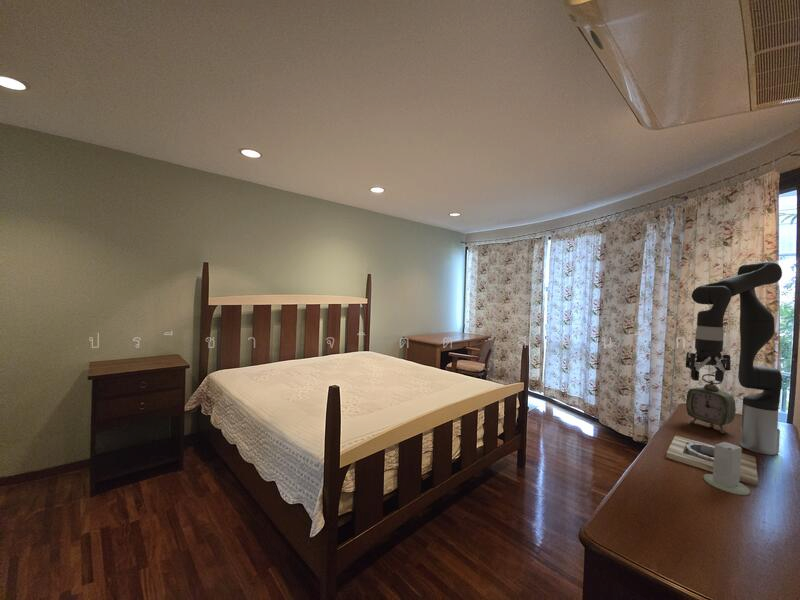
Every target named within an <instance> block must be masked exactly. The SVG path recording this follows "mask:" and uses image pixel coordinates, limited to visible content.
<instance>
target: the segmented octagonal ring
mask: <svg viewBox="0 0 800 600" xmlns="http://www.w3.org/2000/svg"><path fill="white" fill-rule="evenodd" d="M712 446H713V445H712ZM712 446H708V445H703V444H695V443H690V444H687V445H686V450H685V454H688V455H691V456H694V457H698V458H701V459H704V460H708V461H711V462H714V452H715V447H712ZM705 454H706V455H705ZM708 455H711V456H713V457H710V456H708Z"/></svg>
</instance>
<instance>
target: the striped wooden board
mask: <svg viewBox="0 0 800 600" xmlns="http://www.w3.org/2000/svg"><path fill="white" fill-rule="evenodd" d="M690 443H695V444H703V445H708V446H712V447H715V445H711V444H708V443H705V442H701V441H697V440H694V439H690V438H686V437H683V436H679V435H674V437H673V439H672V441H671V442H670V445H669V447H668V449H667V451H666V458H667V459H670V460H673V461H676V462H679V463H683V464H685V465H688V466H689V465H690V466H692V467H696V468H699V469H702V470H705V471H707V472H708V471H709V472H711V473H713V464H714V462H711V461H708V460H704V459H701V458H698V457H694V456H691V455H688V454H686V445H687V444H690ZM758 478H759V477H758V468H757V459H756V456H753V455H749V454H746V453H743V452H741V465H740V480H739V482H743V483H747V484H749V485H752V486H756V487H758V485H759V484H758V481H759V480H758Z"/></svg>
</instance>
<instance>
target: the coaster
mask: <svg viewBox="0 0 800 600" xmlns="http://www.w3.org/2000/svg"><path fill="white" fill-rule="evenodd" d="M712 478H713V473H705V474H703V479H704V481H705V482H706V483H707V484H708V485H710V486H711V487H714V488H716V489H719V490H721V491H723V492H727V493H728V494H729V493H730V494H733V495H738V496H747V495H749V494H750V492H751V491H750V488H749V487H748V486H747V485H744V484H743V483H741V482H739V484H738V485H735V486H733V487H730V488H728V487H725V486H723V485H721V484H718V483H716V482H714V481H713V480H712Z"/></svg>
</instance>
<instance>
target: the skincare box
mask: <svg viewBox="0 0 800 600" xmlns="http://www.w3.org/2000/svg"><path fill="white" fill-rule="evenodd" d="M714 446H715V452H714V456H713V458H714V464H713V472H712V474H713V478H712V480H713V481H714V482H716V483H718V484H721V485H723V486H725V487H728V488H730V487H733V486H735V485H738V484H739V483H740V481H739V480H740V465H741V453H743V452H742V450H743V449H742V448H743V447H742V446H739V445H736V444H732V443H730V442H726V441H722V442H720V443H716V444H715V445H714Z"/></svg>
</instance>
